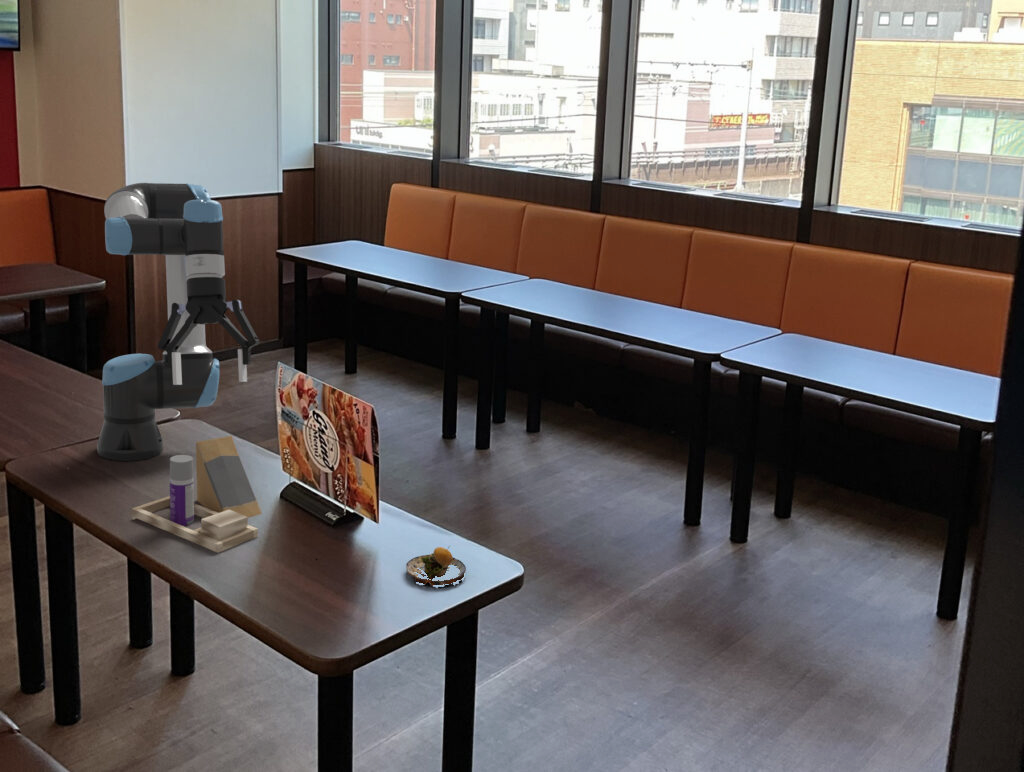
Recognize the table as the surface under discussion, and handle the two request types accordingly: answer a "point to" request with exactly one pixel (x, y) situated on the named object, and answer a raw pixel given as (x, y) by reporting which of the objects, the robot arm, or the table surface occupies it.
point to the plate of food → (435, 566)
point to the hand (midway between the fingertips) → (210, 383)
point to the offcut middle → (220, 536)
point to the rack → (194, 536)
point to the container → (181, 490)
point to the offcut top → (224, 522)
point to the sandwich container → (223, 478)
